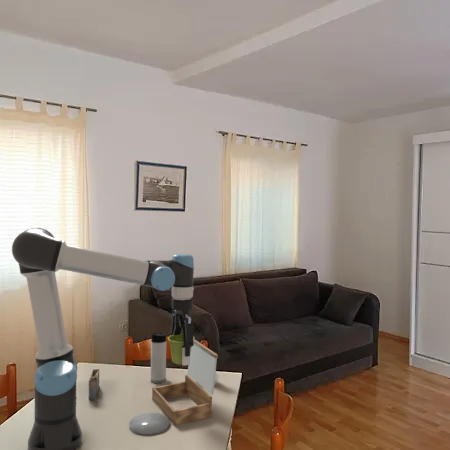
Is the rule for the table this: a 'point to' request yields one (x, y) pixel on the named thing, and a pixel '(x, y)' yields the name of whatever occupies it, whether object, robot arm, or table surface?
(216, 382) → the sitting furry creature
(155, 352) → the travel mug
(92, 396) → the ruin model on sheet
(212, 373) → the lid
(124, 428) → the table surface
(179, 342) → the plant pot
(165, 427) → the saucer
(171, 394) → the frame
